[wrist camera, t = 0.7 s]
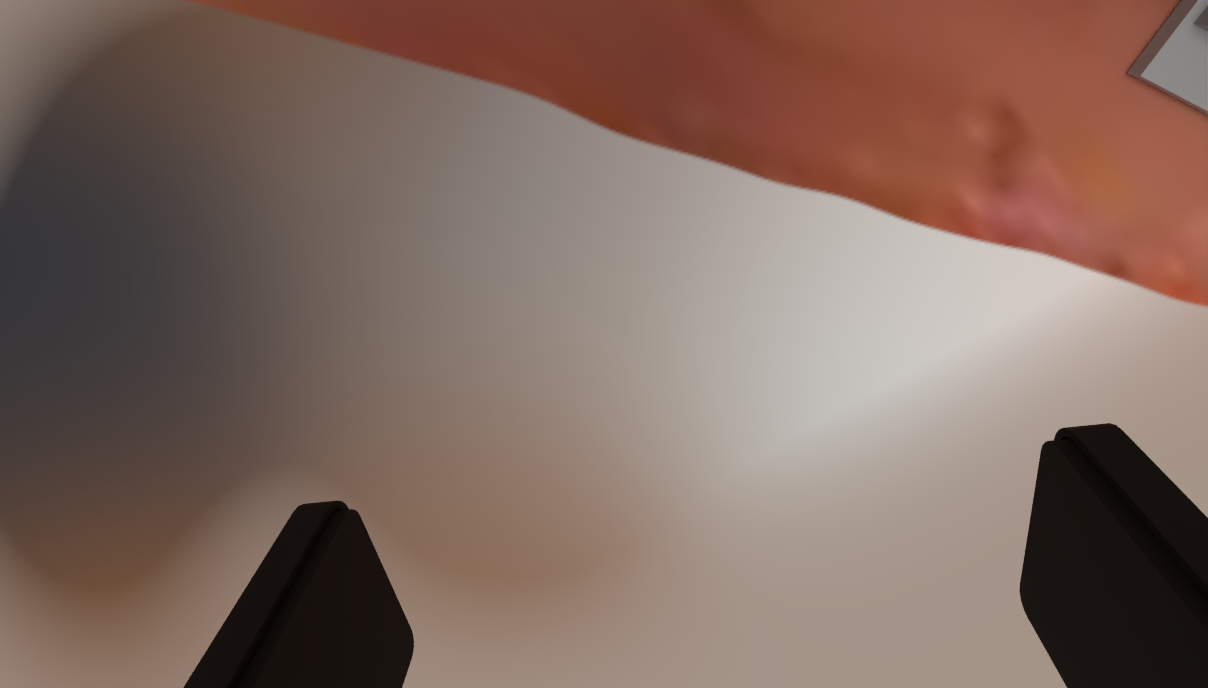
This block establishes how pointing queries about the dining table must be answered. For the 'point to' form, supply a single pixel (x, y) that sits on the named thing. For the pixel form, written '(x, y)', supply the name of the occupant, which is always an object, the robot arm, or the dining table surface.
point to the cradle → (1179, 56)
